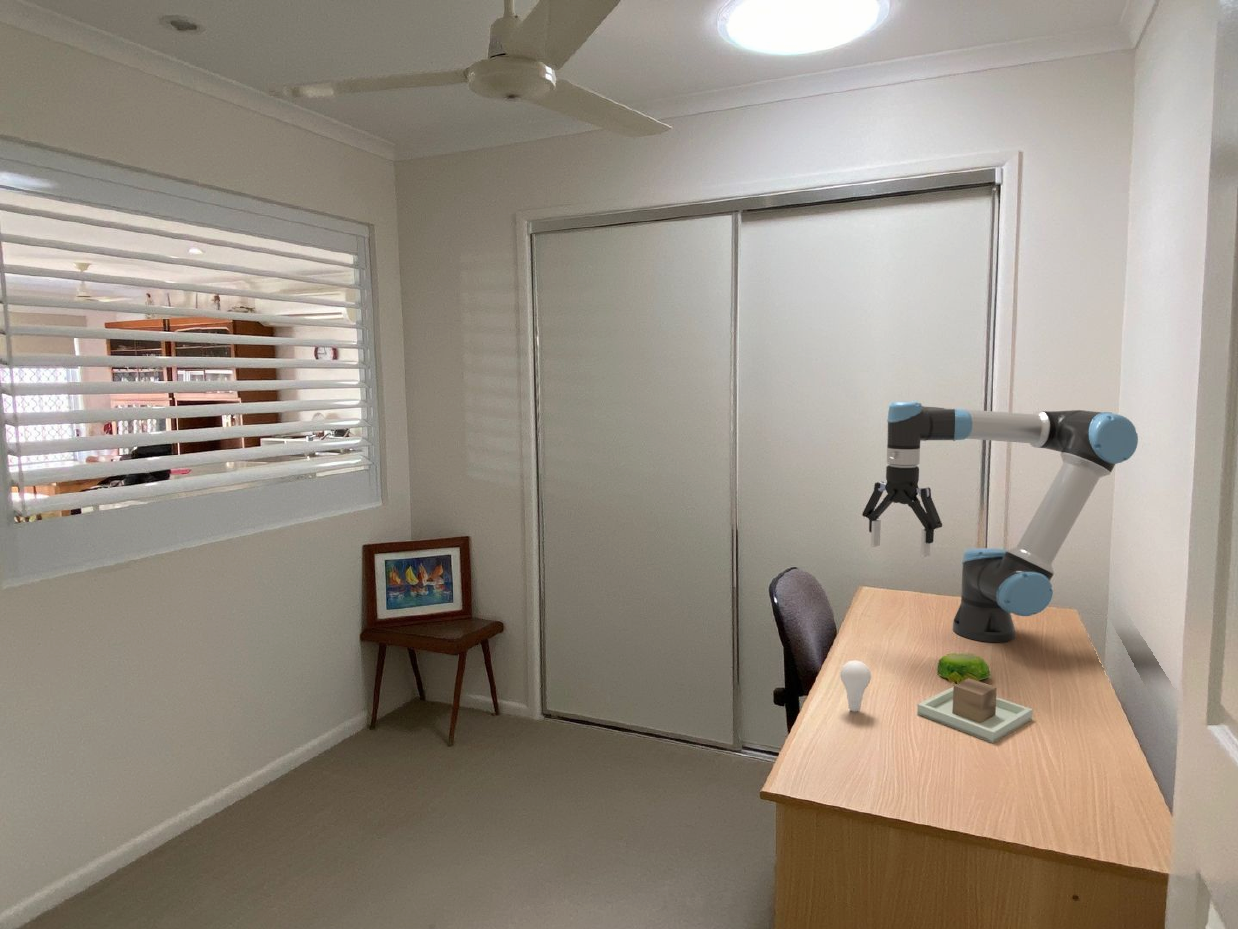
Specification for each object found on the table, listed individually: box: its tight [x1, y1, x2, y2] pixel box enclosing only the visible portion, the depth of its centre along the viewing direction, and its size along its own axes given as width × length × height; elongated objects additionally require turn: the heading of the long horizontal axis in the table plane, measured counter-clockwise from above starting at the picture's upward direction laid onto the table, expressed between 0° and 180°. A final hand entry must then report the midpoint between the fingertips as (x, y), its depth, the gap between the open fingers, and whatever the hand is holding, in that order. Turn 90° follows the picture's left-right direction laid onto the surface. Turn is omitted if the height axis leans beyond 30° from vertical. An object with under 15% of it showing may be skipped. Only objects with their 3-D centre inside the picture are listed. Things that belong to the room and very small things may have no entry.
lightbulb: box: [839, 660, 872, 713], centre depth 163 cm, size 6×6×11 cm
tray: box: [916, 686, 1034, 744], centre depth 161 cm, size 16×16×2 cm
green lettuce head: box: [937, 653, 991, 684], centre depth 182 cm, size 12×11×5 cm
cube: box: [952, 678, 998, 724], centre depth 161 cm, size 6×6×6 cm
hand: (899, 551), depth 192 cm, fingers open, 13 cm apart
